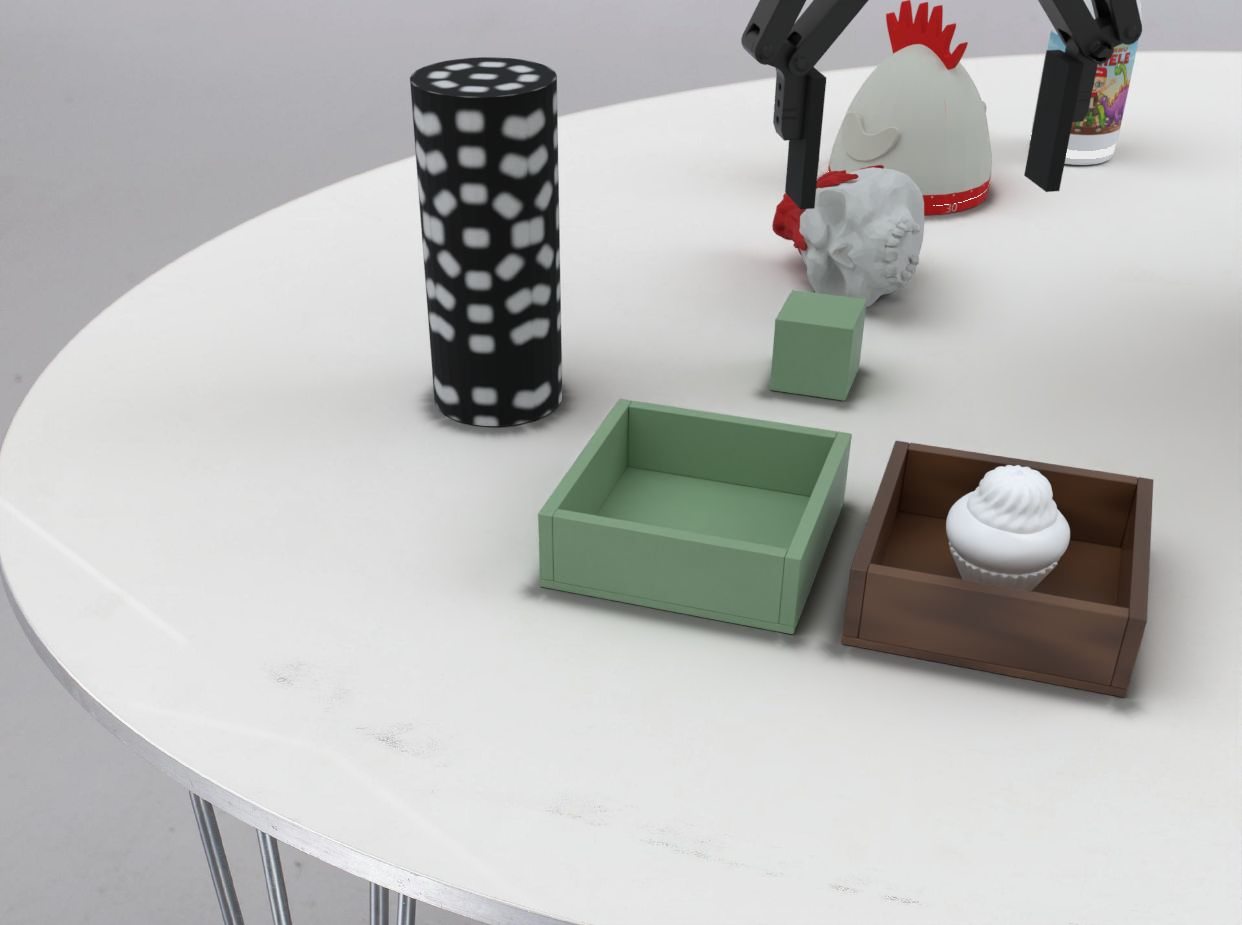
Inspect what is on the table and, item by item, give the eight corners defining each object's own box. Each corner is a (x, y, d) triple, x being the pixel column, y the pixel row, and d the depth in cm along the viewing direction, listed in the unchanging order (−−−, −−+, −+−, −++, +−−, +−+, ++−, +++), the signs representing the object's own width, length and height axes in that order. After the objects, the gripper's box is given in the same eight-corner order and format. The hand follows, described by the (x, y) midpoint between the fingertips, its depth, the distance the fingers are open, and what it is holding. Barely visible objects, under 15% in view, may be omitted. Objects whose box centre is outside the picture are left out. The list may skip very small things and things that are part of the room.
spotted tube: (421, 422, 90) (393, 94, 78) (449, 365, 97) (428, 55, 85) (551, 430, 89) (543, 100, 77) (571, 372, 96) (567, 59, 84)
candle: (890, 328, 100) (727, 294, 110) (979, 282, 107) (818, 253, 116) (892, 198, 96) (721, 174, 105) (985, 158, 102) (816, 139, 111)
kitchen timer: (900, 151, 133) (922, -23, 124) (1020, 191, 125) (1053, 6, 116) (794, 183, 126) (809, 1, 117) (914, 227, 118) (940, 34, 109)
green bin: (843, 503, 82) (852, 433, 80) (793, 635, 72) (800, 559, 69) (618, 466, 86) (619, 397, 83) (539, 586, 75) (537, 513, 73)
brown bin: (1134, 550, 78) (1153, 478, 75) (1125, 698, 68) (1147, 620, 65) (885, 509, 82) (895, 439, 79) (840, 643, 71) (850, 568, 69)
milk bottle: (1014, 143, 135) (1054, -92, 123) (1090, 138, 136) (1137, -95, 125) (1049, 169, 129) (1095, -75, 117) (1128, 164, 130) (1182, -78, 118)
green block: (859, 369, 96) (867, 298, 93) (845, 401, 93) (853, 329, 90) (786, 359, 98) (791, 289, 95) (769, 390, 94) (775, 318, 91)
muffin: (1081, 591, 74) (1110, 472, 70) (1007, 635, 71) (1033, 514, 67) (985, 541, 78) (1007, 426, 74) (911, 582, 75) (929, 464, 71)
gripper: (1199, -293, 68) (1105, 155, 81) (693, -286, 65) (677, 183, 77) (1290, -282, 62) (1173, 199, 75) (738, -273, 59) (713, 233, 71)
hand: (922, 192), depth 76 cm, fingers open, 13 cm apart
